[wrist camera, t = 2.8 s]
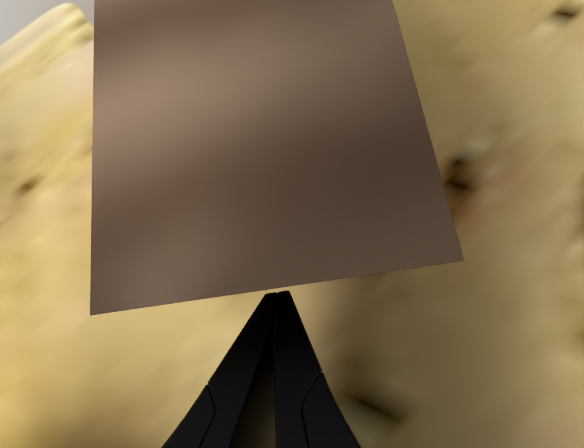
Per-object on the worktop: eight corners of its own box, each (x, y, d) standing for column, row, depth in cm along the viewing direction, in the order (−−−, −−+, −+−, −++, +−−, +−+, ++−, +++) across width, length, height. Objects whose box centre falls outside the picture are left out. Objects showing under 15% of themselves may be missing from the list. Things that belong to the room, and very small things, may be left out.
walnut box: (386, 270, 16) (463, 260, 7) (226, 294, 17) (90, 315, 8) (338, 47, 20) (342, -178, 10) (206, 79, 21) (95, -95, 11)
